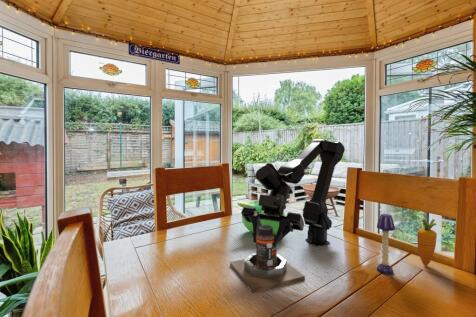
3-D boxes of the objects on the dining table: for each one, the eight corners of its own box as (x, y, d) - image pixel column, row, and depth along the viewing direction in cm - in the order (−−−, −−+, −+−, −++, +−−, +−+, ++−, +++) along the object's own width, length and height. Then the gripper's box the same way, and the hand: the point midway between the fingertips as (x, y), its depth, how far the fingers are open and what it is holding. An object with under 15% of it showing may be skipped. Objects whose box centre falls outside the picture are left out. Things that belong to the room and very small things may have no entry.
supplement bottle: (276, 270, 73) (275, 231, 73) (255, 269, 75) (253, 230, 74) (277, 261, 79) (276, 224, 79) (257, 259, 80) (256, 223, 80)
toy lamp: (371, 268, 79) (373, 213, 78) (382, 265, 81) (384, 212, 80) (386, 275, 75) (388, 218, 74) (397, 272, 77) (399, 216, 75)
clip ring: (272, 257, 85) (272, 249, 84) (293, 273, 74) (293, 265, 74) (239, 263, 80) (239, 255, 80) (256, 282, 70) (256, 273, 69)
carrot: (432, 263, 82) (434, 216, 81) (438, 270, 77) (440, 221, 76) (413, 260, 84) (415, 214, 83) (418, 268, 79) (420, 219, 78)
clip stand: (274, 256, 88) (274, 253, 87) (304, 279, 73) (304, 276, 73) (230, 265, 81) (230, 261, 81) (252, 292, 67) (252, 288, 67)
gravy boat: (290, 231, 111) (291, 197, 109) (273, 245, 96) (274, 206, 95) (253, 224, 120) (253, 192, 119) (232, 236, 106) (232, 200, 105)
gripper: (243, 181, 83) (225, 225, 75) (301, 186, 74) (289, 237, 65) (254, 200, 91) (239, 242, 82) (308, 206, 82) (298, 255, 73)
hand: (264, 244), depth 75 cm, fingers closed on supplement bottle, 6 cm apart
